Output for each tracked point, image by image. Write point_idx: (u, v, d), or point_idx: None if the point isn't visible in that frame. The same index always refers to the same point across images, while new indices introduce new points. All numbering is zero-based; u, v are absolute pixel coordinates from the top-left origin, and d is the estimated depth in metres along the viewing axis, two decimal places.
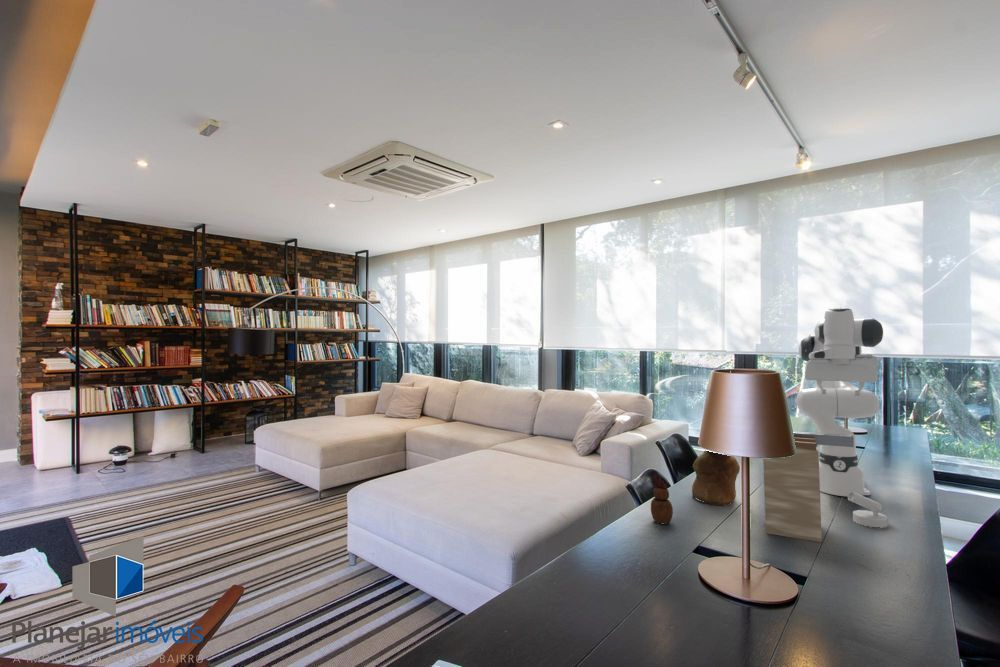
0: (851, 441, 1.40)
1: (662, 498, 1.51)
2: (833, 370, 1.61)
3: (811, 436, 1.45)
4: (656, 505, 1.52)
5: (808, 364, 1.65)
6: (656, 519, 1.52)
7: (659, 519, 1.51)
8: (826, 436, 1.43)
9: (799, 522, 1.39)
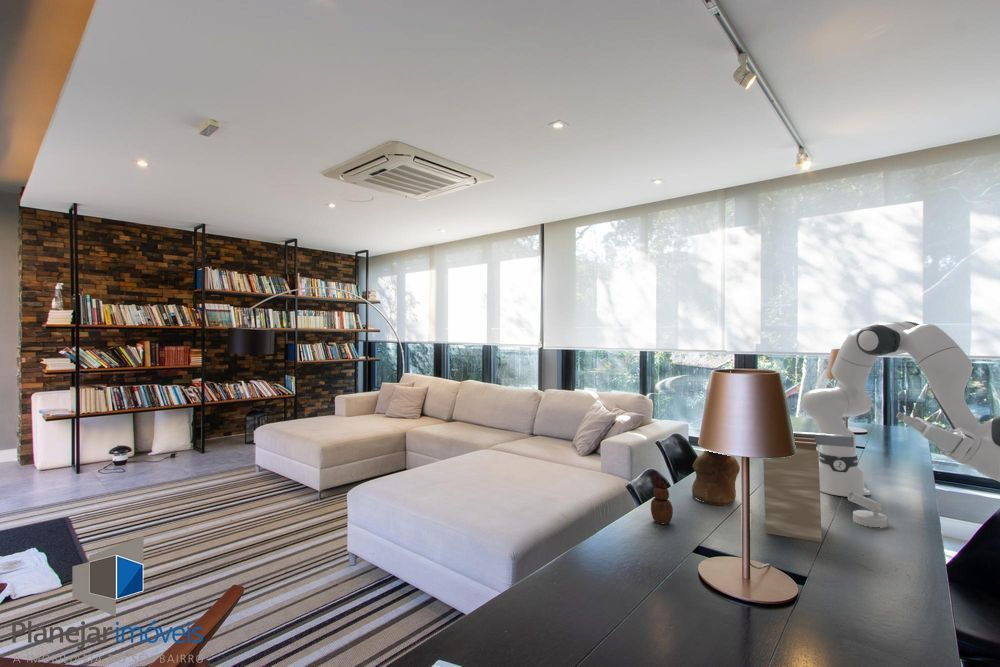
0: (851, 441, 1.40)
1: (662, 498, 1.51)
2: None
3: (811, 436, 1.45)
4: (656, 505, 1.52)
5: (944, 449, 1.28)
6: (656, 519, 1.52)
7: (659, 519, 1.51)
8: (826, 436, 1.43)
9: (799, 522, 1.39)
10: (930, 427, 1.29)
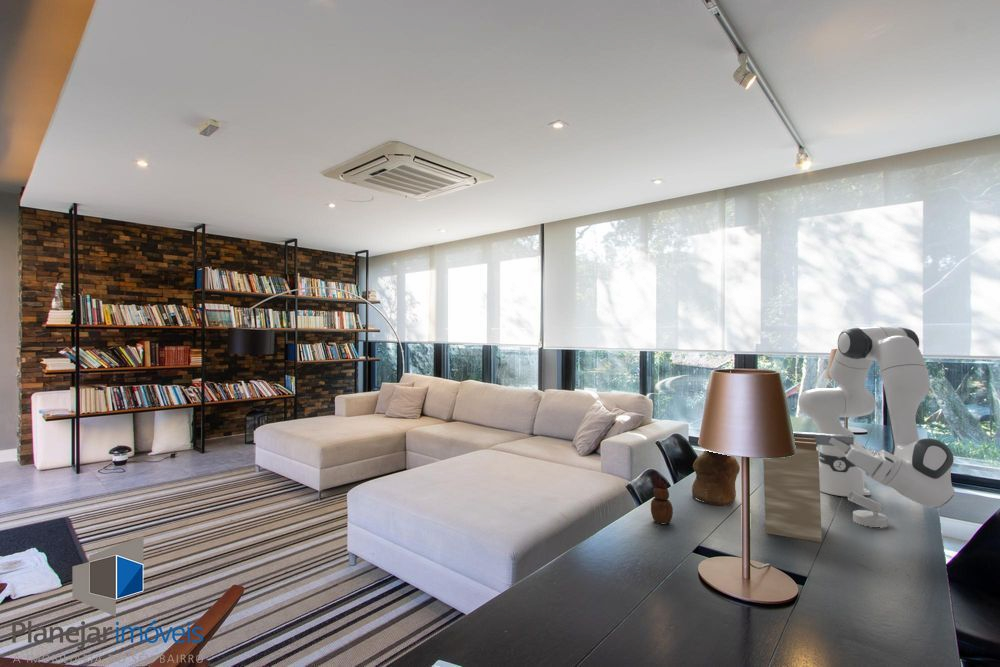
0: (851, 441, 1.40)
1: (662, 498, 1.51)
2: None
3: (811, 436, 1.45)
4: (656, 505, 1.52)
5: (865, 471, 1.32)
6: (656, 519, 1.52)
7: (659, 519, 1.51)
8: (826, 436, 1.43)
9: (799, 522, 1.39)
10: (852, 450, 1.33)
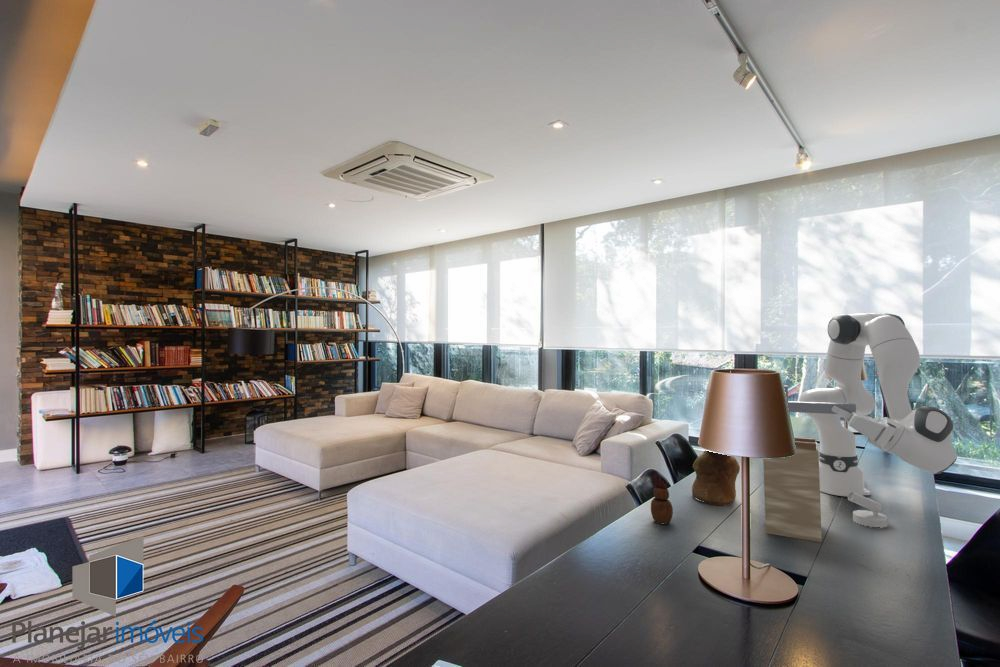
0: (853, 408, 1.40)
1: (662, 498, 1.51)
2: None
3: (813, 405, 1.45)
4: (656, 505, 1.52)
5: (868, 437, 1.32)
6: (656, 519, 1.52)
7: (659, 519, 1.51)
8: (828, 404, 1.43)
9: (799, 522, 1.39)
10: (855, 416, 1.33)
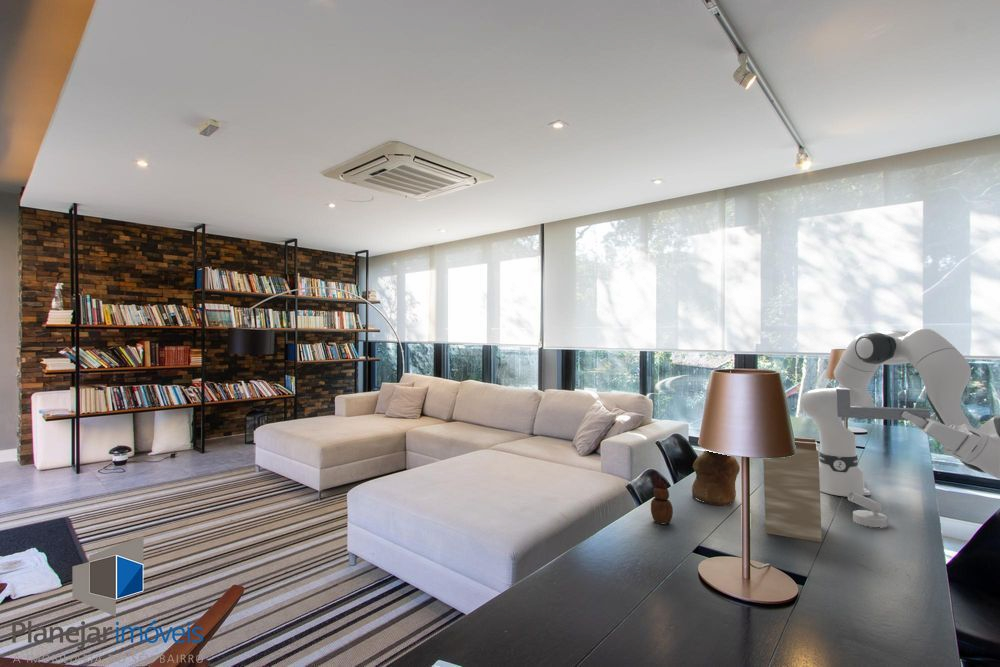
0: (927, 414, 1.26)
1: (662, 498, 1.51)
2: None
3: (880, 410, 1.31)
4: (656, 505, 1.52)
5: (948, 447, 1.18)
6: (656, 519, 1.52)
7: (659, 519, 1.51)
8: (897, 410, 1.29)
9: (799, 522, 1.39)
10: (933, 423, 1.19)
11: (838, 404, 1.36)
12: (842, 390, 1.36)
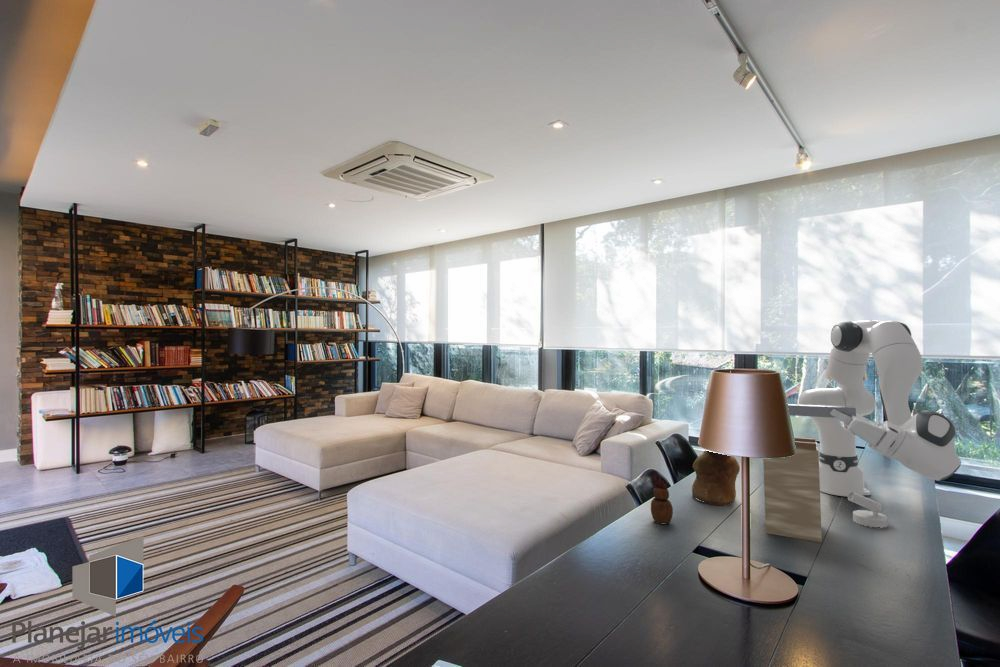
0: (853, 412, 1.34)
1: (662, 498, 1.51)
2: None
3: (812, 408, 1.39)
4: (656, 505, 1.52)
5: (868, 442, 1.26)
6: (656, 519, 1.52)
7: (659, 519, 1.51)
8: (827, 408, 1.37)
9: (799, 522, 1.39)
10: (855, 420, 1.28)
11: None
12: None
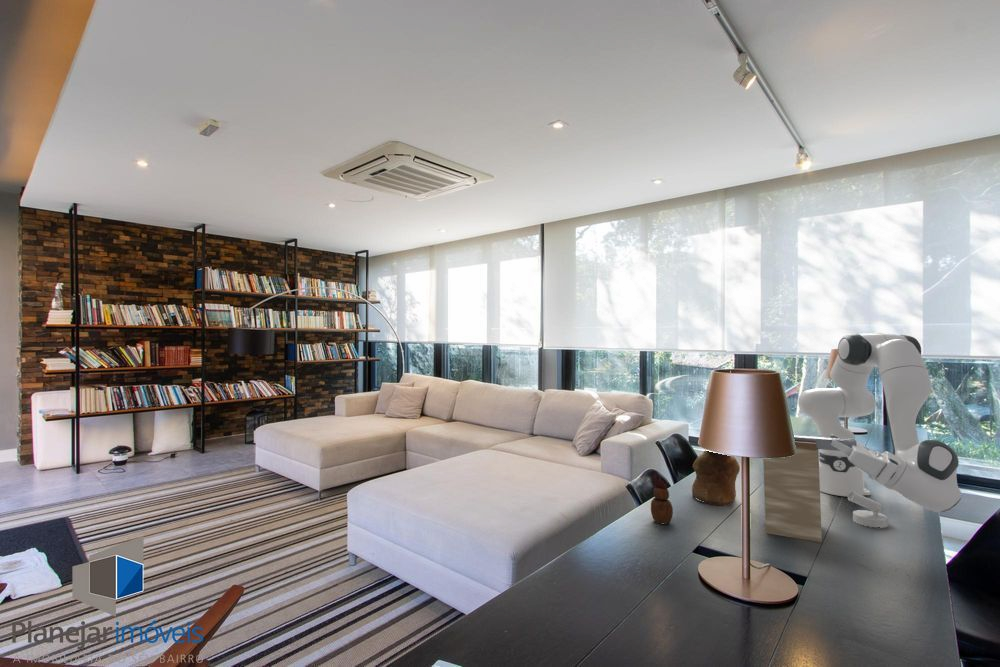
0: None
1: (662, 498, 1.51)
2: None
3: (812, 440, 1.39)
4: (656, 505, 1.52)
5: (868, 474, 1.26)
6: (656, 519, 1.52)
7: (659, 519, 1.51)
8: (828, 440, 1.37)
9: (799, 522, 1.39)
10: (855, 451, 1.27)
11: None
12: None
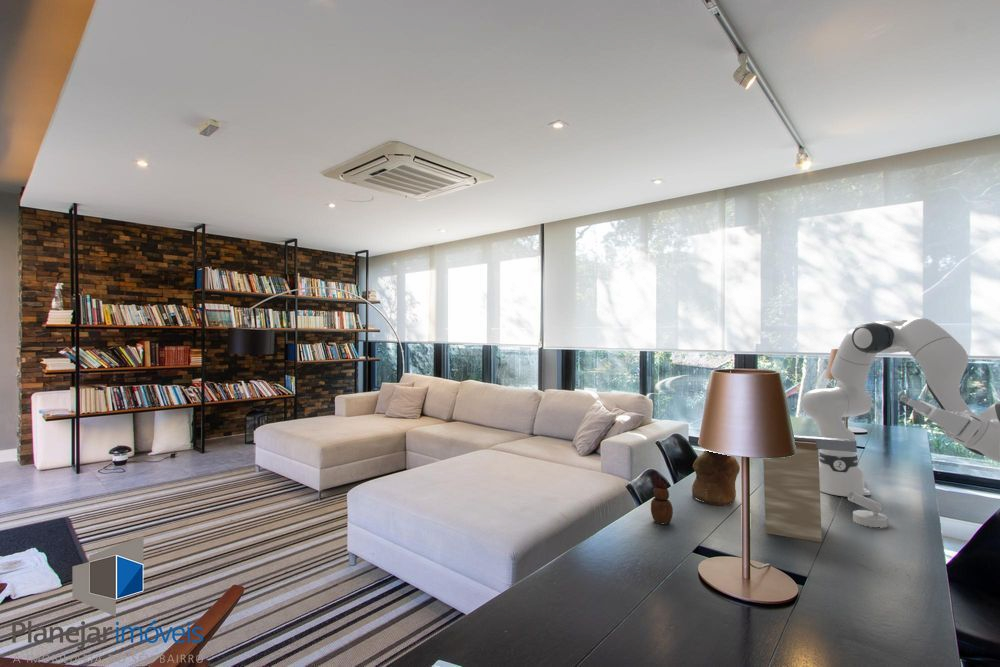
0: (853, 445, 1.34)
1: (662, 498, 1.51)
2: None
3: (812, 440, 1.39)
4: (656, 505, 1.52)
5: (950, 431, 1.23)
6: (656, 519, 1.52)
7: (659, 519, 1.51)
8: (828, 440, 1.37)
9: (799, 522, 1.39)
10: (936, 409, 1.24)
11: None
12: None
